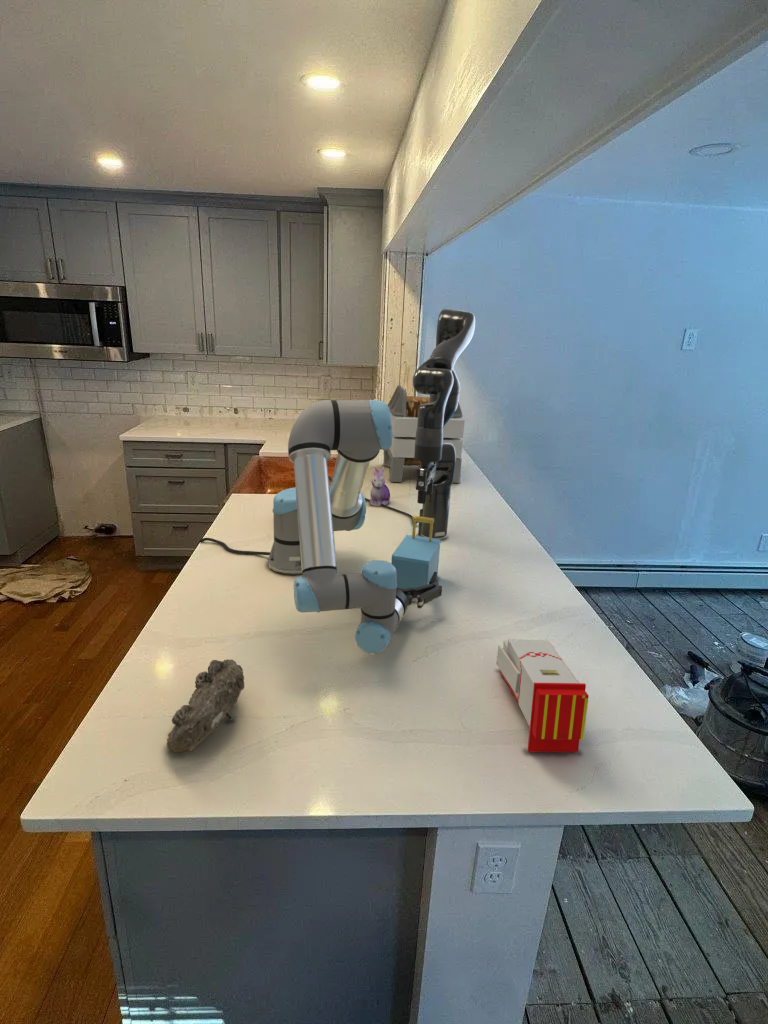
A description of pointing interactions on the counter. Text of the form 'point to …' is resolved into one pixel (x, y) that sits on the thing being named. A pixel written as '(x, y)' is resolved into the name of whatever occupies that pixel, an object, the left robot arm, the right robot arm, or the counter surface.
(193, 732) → the fossil
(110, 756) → the counter surface
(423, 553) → the lid
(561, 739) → the toy
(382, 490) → the figurine
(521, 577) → the counter surface
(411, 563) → the chest
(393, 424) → the grey wooden crate
